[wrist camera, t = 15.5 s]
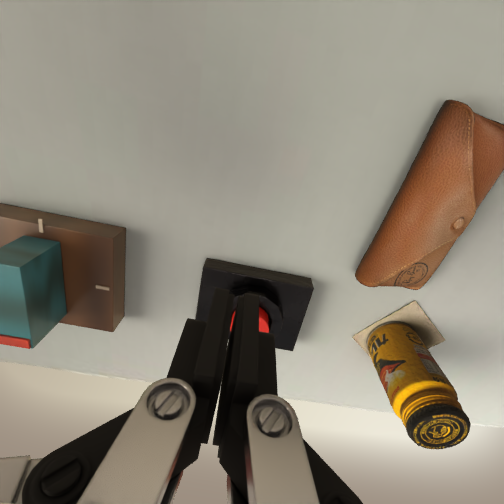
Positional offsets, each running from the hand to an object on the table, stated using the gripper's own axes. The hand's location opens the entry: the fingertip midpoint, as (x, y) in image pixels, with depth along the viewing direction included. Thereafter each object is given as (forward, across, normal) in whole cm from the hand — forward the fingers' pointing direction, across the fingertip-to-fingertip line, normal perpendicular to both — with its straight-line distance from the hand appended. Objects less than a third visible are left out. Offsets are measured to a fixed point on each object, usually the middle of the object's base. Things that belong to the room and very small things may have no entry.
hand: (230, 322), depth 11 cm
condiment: (+20, -22, +14) cm, 33 cm away
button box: (+20, -3, +13) cm, 25 cm away
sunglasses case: (+21, -18, -2) cm, 27 cm away
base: (+21, +19, +13) cm, 31 cm away
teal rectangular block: (+18, +19, +13) cm, 29 cm away
